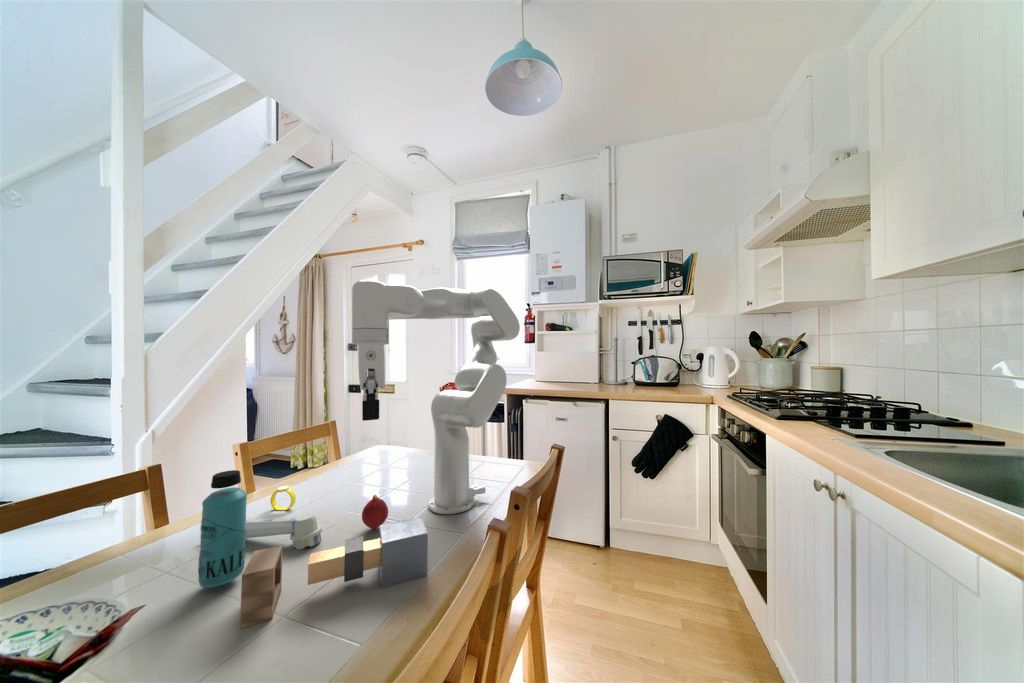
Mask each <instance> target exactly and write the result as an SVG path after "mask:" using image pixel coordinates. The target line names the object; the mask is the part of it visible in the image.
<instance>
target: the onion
mask: <svg viewBox="0 0 1024 683" xmlns="http://www.w3.org/2000/svg"><path fill="white" fill-rule="evenodd" d="M371 498H372V499H371V500H369V501H367V503H366V505H365V506H364V507H363V509H362V512H361V521H362V522H363V524H364V525H365V526H366V527H368V529H371V530H376V529H379V528H380V525H384V524H385V521H386V520H387V518H388V516H389V507H388V505H387V503H386V501H385V500H383V499H382V498H379V497H378V496H377V494H373V496H372V497H371Z"/></svg>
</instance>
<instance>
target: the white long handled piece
mask: <svg viewBox="0 0 1024 683" xmlns="http://www.w3.org/2000/svg"><path fill="white" fill-rule="evenodd" d="M245 530H246V532H247V533H246V535H245V539H252V538H261V537H262V538H263V537H275V536H282V535H290V536H289V538H290V539H289V540H290V541H291V542H292V545H293V546H292V548H295V549H296V550H297V551H298V550H304V549H305V548H306V547H310V548H311V547H313V546H316V545H317V544H319V543H320V542H321V541H322V535H321V533H322V531H323V526H322V525H320V524H318V521H317V517H316V515H315V514H314V513H308V514H304V515H302V516H298V517H291V518H289V517H286V518H285V517H283V518H256V519H255V518H254V519H253V518H249V519H247V518H246V526H245Z"/></svg>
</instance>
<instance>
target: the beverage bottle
mask: <svg viewBox="0 0 1024 683" xmlns="http://www.w3.org/2000/svg"><path fill="white" fill-rule="evenodd" d="M241 482H242V479H241V471H240V470H236V469H232V470H225V471H220V472H217V473H216V474H213V475H212V477H211V483H210V487H211V489H215V491H213V492H211V493H210V494H209V495H208V496H207V497H206V498H204V500H202V504H201V505H202V511H201V512H202V513H201V514H202V515H201V521H200V525H199V527H200V536H199V539H200V540H199V541H200V544H199V545H200V548H199V550H200V551H199V556H198V569H197V570H198V571H197V574H198V577H197V579H198V584H199V586H200V587H201V588H205V589H209V588H215V587H219V586H222V585H225V584H227V583H229V582H232V581H233V580H235V579H237V578H238V577H239V576H241V575H242V574H243V572H244V570H245V559H246V549H247V548H246V538H245V535H246V533H247V532H246V530H245V526H246V520H247V499H248V498H247V497H248V493H247V491H245V490H244V489H242V488H241V487H236V486H237V485H238V484H240V483H241ZM234 486H235V487H234ZM216 489H218V490H216Z"/></svg>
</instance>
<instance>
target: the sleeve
mask: <svg viewBox="0 0 1024 683" xmlns="http://www.w3.org/2000/svg"><path fill="white" fill-rule="evenodd" d="M428 533H429V532H428V531H427V528H426V525H425V523H424V521H423V519H422V516H419V517H414V518H413V517H412V518H410V519H404V520H399V521H394V522H388V523H383V524H382V525H380V526H379V538H381V544H382V564H381V567H378V568H379V576H380V577H379V578H380V586H381V587H380V588H381V589H384V588H389V587H391V586H395V585H398V584H402V583H405V582H406V583H407V582H409V581H412V580H416V579H419V578H424V577H427V576H428V556H429V555H428V553H429V552H428V547H429V546H428V543H429V542H428V541H429V540H428V539H429V538H428Z"/></svg>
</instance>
